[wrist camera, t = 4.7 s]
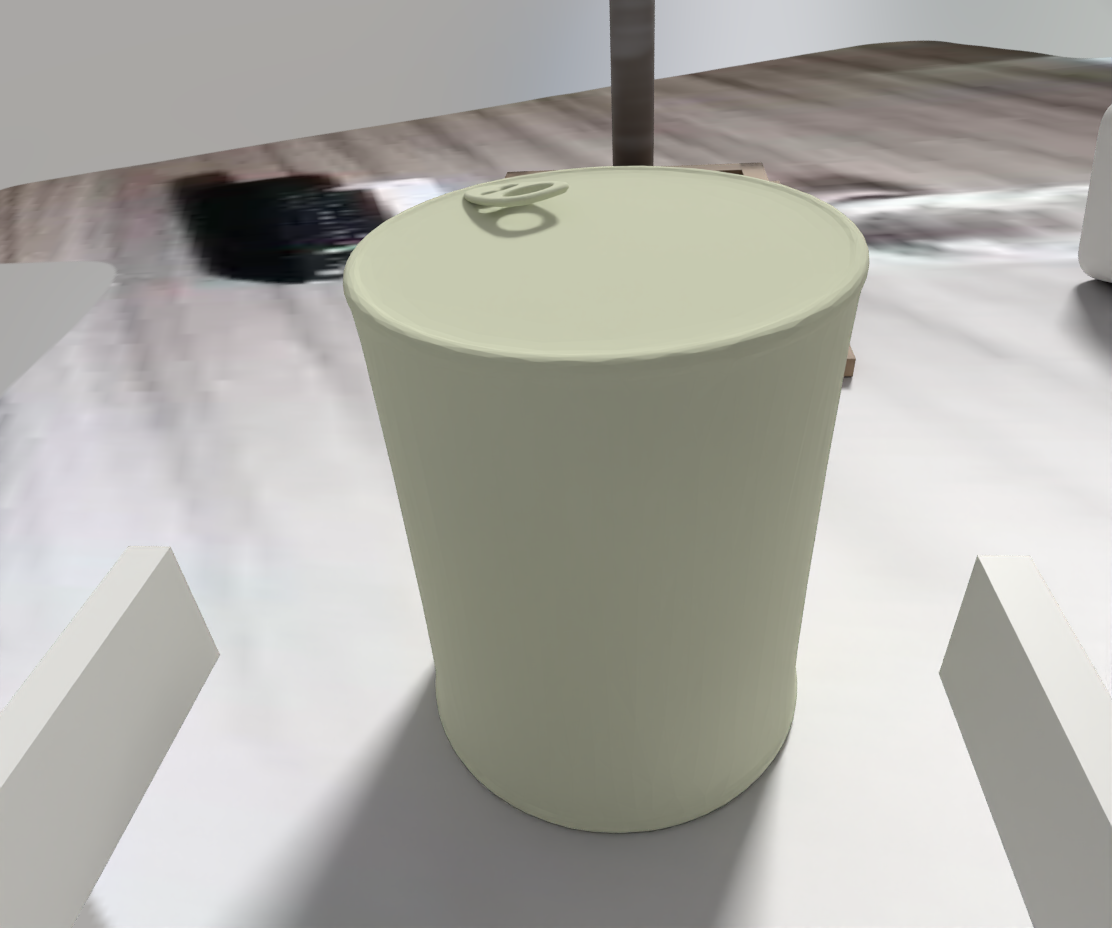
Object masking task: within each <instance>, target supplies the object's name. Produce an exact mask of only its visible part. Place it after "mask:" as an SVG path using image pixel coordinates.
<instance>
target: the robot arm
mask: <svg viewBox="0 0 1112 928" xmlns="http://www.w3.org/2000/svg"><path fill="white" fill-rule="evenodd" d="M219 656H220V654H219V652H218V649H217V647H216V645H215V643H214V641H213V639H212V636H211V634H210V632H209V630H208V628H207V625H206V623H205V621H204V619H203V617H202V614H201V612H200V610H199V608H198V606H197V604H196V601H195V599H194V597H193V595H192V593H191V590H190V588H189V586H188V584H187V582H186V580H185V577H184V575H183V573H182V571H181V569H180V566H179V564H178V562H177V560H176V558H175V556H174V553H173V551H172V549H171V547H159V546H128V547H127V549H126V550H125V551H124V553H123V554H122V555H121V556H120V558H119V559H118V560H117V562H116V563H115V564H114V566H113V567H112V568H111V569H110V571H109V572H108V573H107V575H106V576H105V577H104V579H103V580H102V581H101V583H100V584H99V585H98V586H97V588H96V589H95V590H94V592H93V593H92V594H91V596H90V597H89V598H88V599H87V601H86V602H85V603H84V605H83V606H82V607H81V609H80V610H79V611H78V613H77V614H76V615H75V616H74V618H73V619H72V620H71V622H70V623H69V624H68V626H67V627H66V628H65V629H64V631H63V632H62V633H61V635H60V636H59V637H58V639H57V640H56V641H55V643H54V644H53V645H52V646H51V648H50V649H49V650H48V652H47V653H46V654H45V656H44V657H43V658H42V659H41V661H40V662H39V663H38V665H37V666H36V667H35V669H34V670H33V671H32V673H31V674H30V675H29V676H28V678H27V679H26V680H25V682H24V683H23V684H22V686H21V687H20V688H19V689H18V691H17V692H16V693H15V695H14V696H13V697H12V699H11V700H10V701H9V703H8V704H7V705H6V706H5V708H4V709H3V710H2V712H1V713H0V928H72V927H73V925H74V923H75V921H76V920H77V918H78V916H79V914H80V912H81V911H82V909H83V907H84V905H85V903H86V901H87V899H88V898H89V896H90V894H91V892H92V890H93V888H94V887H95V885H96V883H97V881H98V879H99V877H100V875H101V874H102V872H103V870H104V868H105V866H106V864H107V863H108V861H109V859H110V857H111V855H112V853H113V851H114V850H115V848H116V846H117V844H118V842H119V840H120V839H121V837H122V835H123V833H124V831H125V829H126V827H127V826H128V824H129V822H130V820H131V818H132V816H133V815H134V813H135V811H136V809H137V807H138V805H139V803H140V802H141V800H142V798H143V796H144V794H145V792H146V791H147V789H148V787H149V785H150V783H151V781H152V780H153V778H154V776H155V774H156V772H157V770H158V768H159V767H160V765H161V763H162V761H163V759H164V757H165V756H166V754H167V752H168V750H169V748H170V746H171V744H172V743H173V741H174V739H175V737H176V735H177V733H178V732H179V730H180V728H181V726H182V724H183V722H184V720H185V719H186V717H187V715H188V713H189V711H190V709H191V708H192V706H193V704H194V702H195V700H196V698H197V696H198V695H199V693H200V691H201V689H202V687H203V685H204V684H205V682H206V680H207V678H208V676H209V674H210V672H211V671H212V669H213V667H214V665H215V663H216V661H217V660H218V658H219ZM939 675H940V678H941V680H942V683H943V686H944V688H945V691H946V694H947V696H948V699H949V702H950V704H951V707H952V710H953V712H954V715H955V718H956V720H957V723H958V726H959V729H960V731H961V734H962V737H963V739H964V742H965V745H966V747H967V750H968V753H969V755H970V758H971V761H972V763H973V766H974V769H975V771H976V774H977V777H978V779H979V782H980V785H981V788H982V790H983V793H984V796H985V798H986V801H987V804H988V806H989V809H990V812H991V814H992V817H993V820H994V822H995V825H996V828H997V830H998V833H999V836H1000V838H1001V841H1002V844H1003V846H1004V849H1005V852H1006V855H1007V857H1008V860H1009V863H1010V865H1011V868H1012V871H1013V873H1014V876H1015V879H1016V881H1017V884H1018V887H1019V889H1020V892H1021V895H1022V897H1023V900H1024V903H1025V905H1026V908H1027V911H1028V914H1029V916H1030V919H1031V922H1032V924H1033V927H1034V928H1112V698H1111V696H1110V694H1109V693H1108V691H1107V689H1106V687H1105V686H1104V684H1103V682H1102V680H1101V679H1100V677H1099V675H1098V673H1097V672H1096V670H1095V668H1094V666H1093V665H1092V663H1091V661H1090V659H1089V658H1088V656H1087V654H1086V652H1085V651H1084V649H1083V647H1082V645H1081V644H1080V642H1079V640H1078V638H1077V637H1076V635H1075V633H1074V631H1073V630H1072V628H1071V626H1070V624H1069V623H1068V621H1067V619H1066V617H1065V616H1064V614H1063V612H1062V610H1061V609H1060V607H1059V605H1058V603H1057V602H1056V600H1055V598H1054V596H1053V595H1052V593H1051V591H1050V589H1049V588H1048V586H1047V584H1046V582H1045V581H1044V579H1043V577H1042V575H1041V574H1040V572H1039V570H1038V568H1037V567H1036V565H1035V563H1034V561H1033V560H1032V558H1031V556H1000V555H977V558H976V561H975V565H974V568H973V571H972V574H971V577H970V580H969V583H968V586H967V589H966V592H965V595H964V598H963V601H962V604H961V607H960V610H959V614H958V617H957V620H956V623H955V626H954V629H953V632H952V635H951V638H950V641H949V644H948V647H947V650H946V653H945V656H944V659H943V663H942V666H941V669H940V672H939Z"/></svg>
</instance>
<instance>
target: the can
mask: <svg viewBox="0 0 1112 928" xmlns="http://www.w3.org/2000/svg"><path fill="white" fill-rule="evenodd" d="M868 268H869V250H868V247H867V244H866V241H865V239H864V237H863V235H862V233H861V232H860V231H859V229H858V228H857V227H856V225H855V224H854V223H853V222H852V221H851V220H850V219H849V218H847V217H846V216H845V215H844V214H843V213H841V212H840V211H839V210H837V209H836V208H834V207H833V206H831V205H830V204H828V203H826V202H824V201H822V200H820V199H818V198H816V197H814V196H812V195H809V194H807V193H804V192H801V191H798V190H796V189H793V188H790V187H787V186H785V185H781V184H778V183H774V182H770V181H766V180H762V179H758V178H753V177H749V176H744V175H738V174H732V173H726V172H720V171H712V170H704V169H695V168H680V167H662V166H607V167H589V168H575V169H565V170H556V171H548V172H540V173H534V174H527V175H521V176H515V177H510V178H505V179H501V180H496V181H491V182H486V183H482V184H477V185H474V186H470V187H467V188H464V189H460V190H457V191H453V192H450V193H447V194H444V195H441V196H439V197H436V198H433V199H430V200H427V201H425V202H423V203H420V204H418V205H416V206H414V207H412V208H409V209H407V210H405V211H403V212H401V213H400V214H398V215H396V216H394V217H392V218H390V219H389V220H387V221H385V222H384V223H382V224H381V225H380V226H378V227H377V228H376V229H374V230H373V231H372V232H370V233H369V234H368V235H367V236H366V237H365V238H364V239H363V240H362V241H361V242H360V243H359V244H358V245H357V246H356V248H355V249H354V250H353V252H352V253H351V255H350V257H349V259H348V261H347V263H346V266H345V269H344V275H343V289H344V295H345V297H346V300H347V303H348V305H349V307H350V309H351V311H352V315H353V318H354V321H355V325H356V328H357V331H358V335H359V338H360V341H361V345H362V349H363V353H364V357H365V361H366V365H367V369H368V373H369V378H370V382H371V386H372V390H373V394H374V398H375V402H376V406H377V411H378V415H379V419H380V423H381V427H382V431H383V435H384V439H385V443H386V448H387V452H388V456H389V460H390V464H391V468H392V472H393V476H394V481H395V485H396V490H397V494H398V499H399V503H400V507H401V512H402V516H403V521H404V525H405V529H406V534H407V538H408V543H409V547H410V552H411V556H412V560H413V565H414V569H415V574H416V578H417V582H418V587H419V591H420V596H421V600H422V605H423V609H424V614H425V619H426V624H427V629H428V634H429V638H430V643H431V648H432V653H433V658H434V663H435V669H436V680H435V689H436V700H437V706H438V711H439V716H440V719H441V722H442V725H443V728H444V731H445V733H446V735H447V737H448V739H449V741H450V743H451V745H452V747H453V749H454V750H455V752H456V754H457V755H458V757H459V758H460V759H461V761H462V762H463V763H464V765H465V766H466V767H467V768H468V769H469V771H470V772H471V773H472V774H473V775H474V776H475V777H476V778H477V779H478V780H479V781H480V782H481V783H482V784H483V785H485V786H486V787H487V788H488V789H489V790H490V791H492V792H493V793H494V794H495V795H497V796H498V797H500V798H501V799H503V800H504V801H506V802H507V803H509V804H511V805H512V806H514V807H516V808H517V809H519V810H521V811H523V812H525V813H527V814H530V815H532V816H535V817H537V818H540V819H542V820H545V821H547V822H550V823H553V824H557V825H561V826H564V827H568V828H572V829H578V830H584V831H591V832H606V833H626V832H642V831H651V830H657V829H662V828H667V827H672V826H675V825H679V824H682V823H685V822H688V821H691V820H693V819H696V818H698V817H701V816H703V815H706V814H708V813H710V812H712V811H713V810H715V809H717V808H719V807H721V806H723V805H725V804H727V803H728V802H729V801H731V800H732V799H733V798H735V797H736V796H738V795H739V794H740V793H742V792H743V791H744V790H746V789H747V788H748V787H749V786H750V785H751V784H752V783H753V782H755V781H756V780H757V779H758V778H759V777H760V776H761V774H762V773H763V772H764V771H765V770H766V768H767V767H768V766H769V765H770V763H771V762H772V761H773V759H774V758H775V757H776V755H777V753H778V752H779V750H780V749H781V747H782V745H783V743H784V741H785V739H786V737H787V734H788V732H789V730H790V727H791V723H792V720H793V716H794V711H795V706H796V698H797V675H796V667H795V666H796V657H797V649H798V643H799V636H800V629H801V623H802V616H803V609H804V603H805V596H806V589H807V583H808V577H809V571H810V565H811V559H812V553H813V547H814V541H815V535H816V529H817V523H818V517H819V512H820V506H821V500H822V494H823V488H824V482H825V476H826V470H827V464H828V459H829V453H830V447H831V442H832V437H833V431H834V426H835V420H836V415H837V410H838V404H839V399H840V393H841V388H842V382H843V377H844V372H845V366H846V361H847V355H848V350H849V345H850V339H851V334H852V329H853V325H854V320H855V315H856V311H857V306H858V301H859V297H860V293H861V290H862V288H863V285H864V283H865V280H866V278H867V273H868Z"/></svg>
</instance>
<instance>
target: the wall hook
mask: <svg viewBox="0 0 1112 928" xmlns="http://www.w3.org/2000/svg"><path fill="white" fill-rule="evenodd" d="M1078 259H1079V264H1080V266H1081V268H1082V270H1083V271H1084V272H1085V273H1086V274H1087V275H1088V276H1090V277H1092V278H1094V279H1098V280H1102V281H1106V282H1110V283H1112V104H1111V105H1110V107H1109V108H1108V109H1107V111H1106V112H1105V114H1104V116H1103V118H1102V120H1101V123H1100V128H1099V133H1098V138H1097V144H1096V149H1095V155H1094V161H1093V167H1092V173H1091V179H1090V185H1089V191H1088V197H1087V203H1086V209H1085V215H1084V221H1083V226H1082V232H1081V238H1080V244H1079V251H1078Z"/></svg>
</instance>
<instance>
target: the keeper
mask: <svg viewBox="0 0 1112 928" xmlns="http://www.w3.org/2000/svg"><path fill="white" fill-rule="evenodd" d="M654 14H655V0H610V47H611V96H612V145H613V166H653V149H654V27H655V25H654V24H655V22H654V21H655V18H654V17H655V15H654ZM662 167H680V168H695V169H704V170H712V171H720V172H726V173H732V174H738V175H744V176H749V177H753V178H758V179H762V180H766V181H769V180H768V177H767V175H766V172H765V170H764V167H763V165H762V163H739V164H712V165H685V166H662ZM550 171H556V170H550ZM540 172H548V171H523V172H507V174H506V176H505V178H510V177H515V176H521V175H527V174H534V173H540ZM770 182H774V183H778V184H780V182H779V181H770ZM855 360H856V358H855V356H854V354H853V351H852V349H851V347H850V345H849V350H848V355H847V361H846V366H845V372H844V377H846V376H853V371H854V366H855Z"/></svg>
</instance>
